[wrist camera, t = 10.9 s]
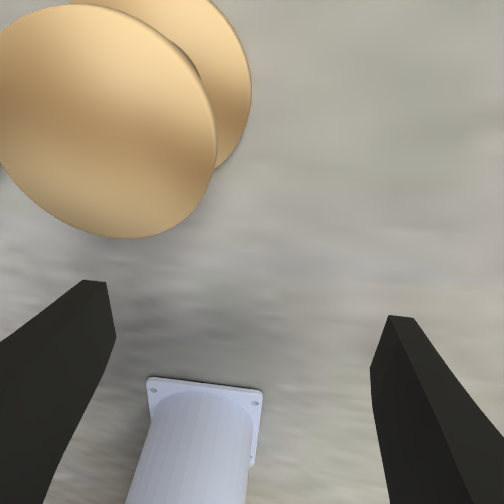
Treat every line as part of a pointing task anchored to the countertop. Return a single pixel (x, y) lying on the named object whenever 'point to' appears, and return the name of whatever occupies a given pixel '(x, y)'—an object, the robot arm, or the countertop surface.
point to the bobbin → (121, 110)
